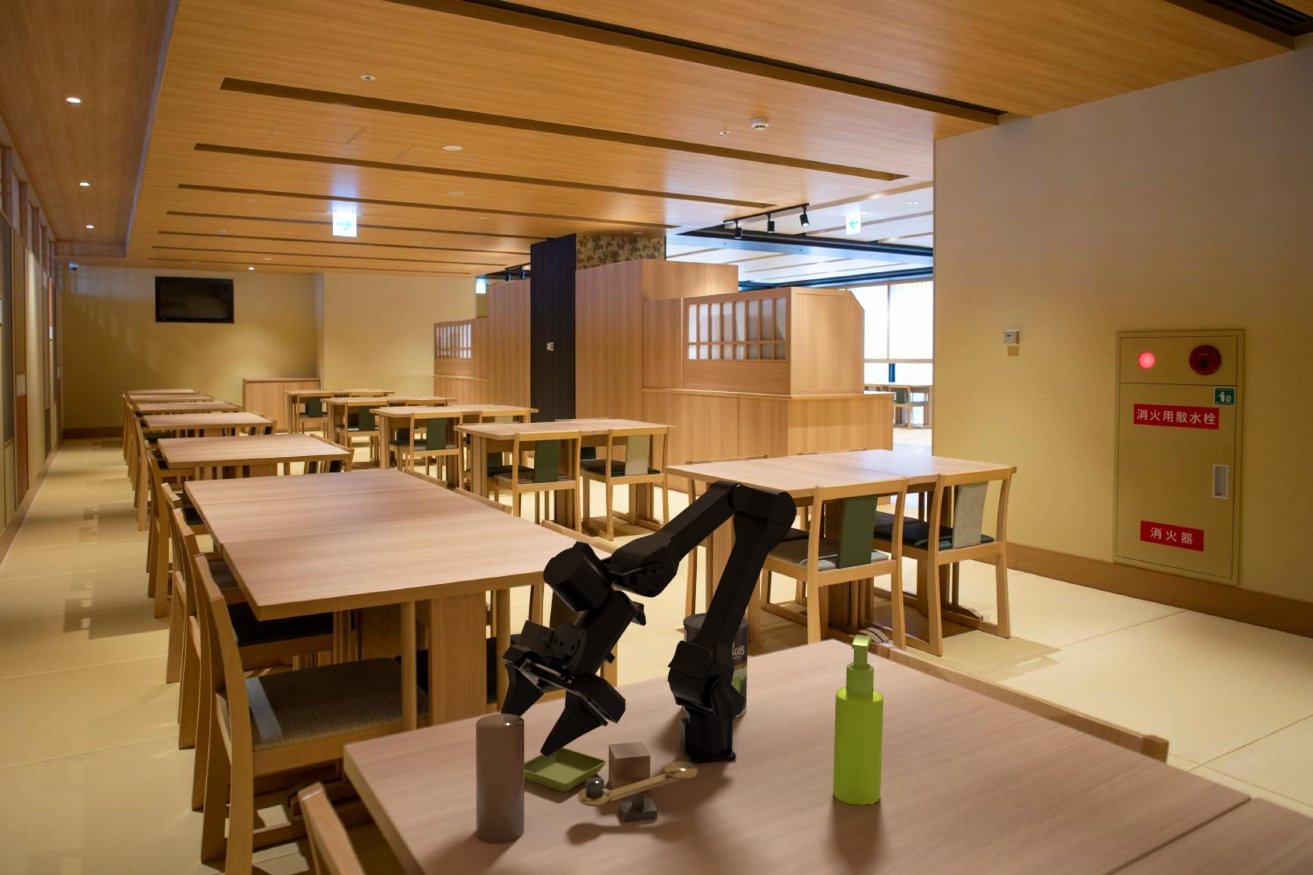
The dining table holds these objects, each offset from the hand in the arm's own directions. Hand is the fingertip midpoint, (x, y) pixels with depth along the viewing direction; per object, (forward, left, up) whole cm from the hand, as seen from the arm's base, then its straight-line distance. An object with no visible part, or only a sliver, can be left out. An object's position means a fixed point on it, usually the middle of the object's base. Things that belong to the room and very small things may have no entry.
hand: (520, 742), depth 111 cm
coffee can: (-34, -31, -10) cm, 47 cm away
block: (-15, -7, -10) cm, 19 cm away
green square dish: (-7, -12, -11) cm, 17 cm away
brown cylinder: (+2, +1, -10) cm, 10 cm away
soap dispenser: (-43, +1, -10) cm, 44 cm away
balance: (-14, +1, -10) cm, 17 cm away
